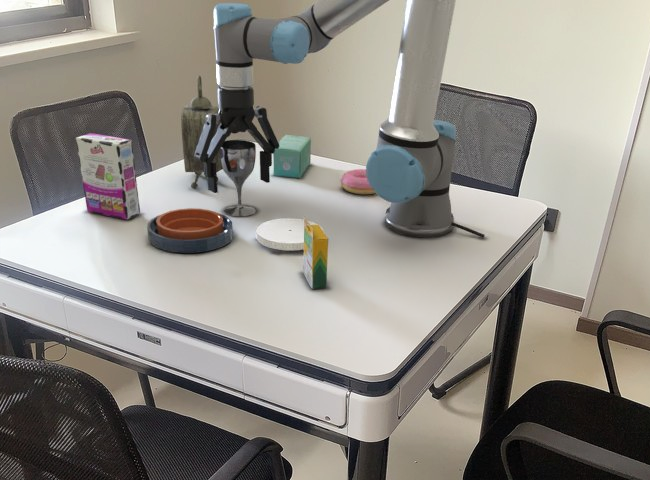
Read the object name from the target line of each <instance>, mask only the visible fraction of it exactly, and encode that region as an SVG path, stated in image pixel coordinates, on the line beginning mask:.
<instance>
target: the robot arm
mask: <svg viewBox="0 0 650 480" xmlns="http://www.w3.org/2000/svg"><path fill="white" fill-rule="evenodd" d="M389 1H390V0H317V1H316V2H315V3H314V4H313V5H311V6H309V7H308V8H307V9H305V10H304V11H302V12H301V13H300V14H296V15H292V16H288V17H282V18H277V19H276V18H275V19H274V18H273V19H272V18H263V17H261V18H260V17H256V16H253V13H252V7H251V6H250V5H249V4H245V3H241V2H240V3H239V2H222V3H217V4H216V5H215V6H214V8H213V29H212V30H213V35H214V44H215V45H214V46H215V47H214V48H215V67H216V70H215V71H216V83H217V85H218V87H217V89H216V91H217V104H218V108H219V113H218V114H211V113H209V112H207V113H206V115H205V126H204V129H203V131H202V134H201V137H200V140H199V143H198V146H197V149H196V152H195V155H194V157H195V158H196V159H197V160H199V161H201V162H203V165H204V172H203V176H204V177H206V178H207V186H208V191H209V192H211V193H214V194H217V193H219V190H218V181H217V177H218V172H216V163H215V162H213V160H214V158H215V156H216V155H217V153H218V151H219V150H220V148H221V147H222V145H223V143H224V142H225V141H227V138H229V137H230V136H231V134H238V133H246V132H248V133H249V135H250V136H251V137H252V139H253V140H254V141H255V142H256V143H257V144H258V145H259V147H261V149H262V150H259V180H260V181H262V182H264V183H266V184H267V183H270V182H271V179H270V176H271V175H270V173H271V172H270V167H272V165H273V153H274V152H275V149H278V148H279V143H278V142H279V141H278V138H277V136H276V133H275V132H274V129H273V127H272V125H271V123H270V121H269V118H268V113H267V112H268V111H267V108H266V107H263V106H260V105H257V106H255V108H254V105H255V91H254V88H253V85H254V84H255V83H254V82H255V81H254V66H253V65H254V60H261V61H262V60H263V61H269V62H276V63H281V64H284V65H287V64H294V65H297V64H301V63H303V62H304V60H305V58H306V57H307V55H309V54H314V53H318V52H319V51H320V52H321V50H323V49H325V48H326V47H327V46H328V45H329V44H330V42H331V41H332V40H334V39H335V38H336V37H337V36H339V35H340V34H342V33H344V32H345V31H346V30H348V29H349V28H351V27H352V26H354V25H355V24H357V23H358V22H359V21H361V20H362V19H364V18H366V17H367V16H368V15H371V14H372V13H373V12H375V11H376V10H377V9H379V8H380V7H381V6H383V5H384V4H386V3H388V2H389ZM456 1H457V0H406V2H405V7H404V8H405V9H404V15H403V22H402V27H401V35H400V41H399V49H398V55H397V62H396V69H395V76H394V82H393V89H392V96H391V102H390V108H389V109H390V110H389V114H388V115H389V116H388V118H386V119H385V120H384V121H383V122H382V123H380V124H379V130H378V136H377V143H376V148H375V149H374V150H373V151H372V152H371V153H370V156H369V157H368V159H367V162H366V165H365V170H366V176H367V180H368V182H369V185H370V186H371V187H372V189H373V190H374V191H375V193H374V194H376V196H378V197H379V198H381V199H382V200H384V201H386V202H389V203H390V206H389V207H388V208H386V210H385V226H386V227H387V228H388V229H390V230H391V231H393V232H396V233H397V234H401V235H404V236H409V237H414V238H436V237H441V236H445V235H448V234H450V233H451V232H452V231H453V229H454V227H455V228H457V229H460V230H463V231H465V232H468V233H470V234H473V235H475V236H477V237H479V238H485V234H484V233H482V232H479V231H476V230H474V229H472V228H470V227H467V226H464V225H461V224H459V223H456V222H455V218H454V213H452V205H451V198H450V189H451V188H450V187H451V178H452V171H453V163H454V154H455V146H456V142H457V138H456V137H457V128H456V126H455V124H453V123H452V122H449V121H444V120H439V119H435V117H436V111H437V105H438V101H439V95H440V89H441V83H442V78H443V73H444V67H445V62H446V58H447V57H446V56H447V51H448V47H449V46H448V45H449V40H450V35H451V29H452V23H453V18H454V13H455V7H456ZM255 118H256V119H257V122H258V124H259V126H260V128H261V130H262V133H263V134H262V133H261V132H260V131H259V129H258V128H257V126H256V125H255V124H254V122H253V121H254V119H255ZM218 121H220V122H221V124H220V125H219V127H218V129H217V133H216V135H215V136H214V138H213V139H212V137H213V135H214V132H215V128H216V124H218ZM263 135H264V136H263ZM211 140H212V141H211Z"/></svg>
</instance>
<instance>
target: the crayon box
mask: <svg viewBox="0 0 650 480" xmlns="http://www.w3.org/2000/svg"><path fill="white" fill-rule="evenodd" d="M303 220H304V250H303V259H302V262H303V264H302V274H303V275H304V277H305V279H306V281H307V284H308V285H309V286H310V289H311V290H319V289H326V288H327V281H328V280H327V277H328V258H329V257H328V254H329V238H328V237H327V235H326V233H325V232H323V231H322V229H321V228H320V226H321V225H320V226H319V224H318V225H310V223H309V222H308V221H309V220H308V218H307V217H306V216H303ZM307 224H308V225H307Z"/></svg>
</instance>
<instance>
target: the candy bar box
mask: <svg viewBox="0 0 650 480" xmlns="http://www.w3.org/2000/svg"><path fill="white" fill-rule="evenodd" d="M75 142H76V143H75V144H76V148H77V149H76V150H77V155H78V161H79V169H80V174H81V180H82V181H81V182H82V185H83V192H84V193H83V194H84V198H85V205H86V210H87V212H88V213H92V214H97V215H102V216H107V217H111V218H115V219H122V220H130V219H132V218H134V217H136V216H139V215H140V214H141V207H140V199H139V191H138V181H137V174H136V173H137V172H136V164H135V157H134V148H133V140H132V139H128V138H123V137H115V136H110V135H105V134H98V133H97V134H96V133H91V132H90V133H85V134H83V135H80V136H77V137H75Z"/></svg>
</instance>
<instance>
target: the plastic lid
mask: <svg viewBox="0 0 650 480" xmlns="http://www.w3.org/2000/svg"><path fill="white" fill-rule="evenodd" d="M308 222H309V223H310V225H319V224H318V223H315V222H314V221H311V220H308ZM307 225H308V224H307ZM319 226H320V228H321V229H322V231H323V232H324V228H323V227H322V226H321V225H319ZM324 233H325V232H324ZM255 238H256V240H257V242H258V243H259V244H261V245H262V246H264V247H267V248H270V249H273V250H279V251H281V250H282V251H292V252H293V251H302V250H303V251H304V218H303V219H302V218H301V219H300V218H292V217H291V218H289V217H287V218H285V217H284V218H276V219H271V220H268V221H264V222H262V223H260V224H259V225H257V227H256V229H255Z"/></svg>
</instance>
